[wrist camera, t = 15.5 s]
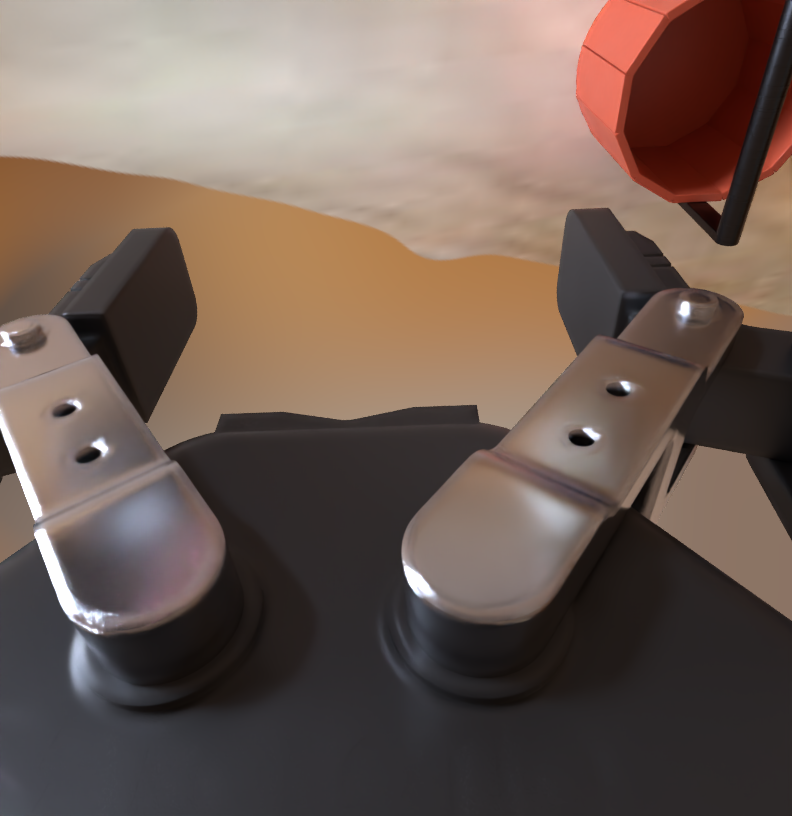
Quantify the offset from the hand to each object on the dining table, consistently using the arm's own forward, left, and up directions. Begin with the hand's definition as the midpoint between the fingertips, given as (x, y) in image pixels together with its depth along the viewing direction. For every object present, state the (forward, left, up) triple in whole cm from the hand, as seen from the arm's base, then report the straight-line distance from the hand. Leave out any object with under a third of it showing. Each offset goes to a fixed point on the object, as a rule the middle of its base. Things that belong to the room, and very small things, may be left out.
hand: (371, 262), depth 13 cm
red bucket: (+9, +16, -34) cm, 39 cm away
